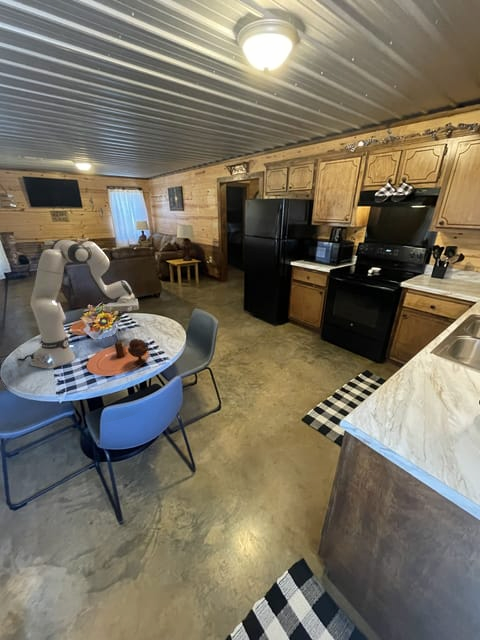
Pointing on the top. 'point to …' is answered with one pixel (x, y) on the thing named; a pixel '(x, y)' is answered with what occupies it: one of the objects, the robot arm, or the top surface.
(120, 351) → the eraser
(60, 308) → the champagne flute
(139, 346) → the ice cream bowl
